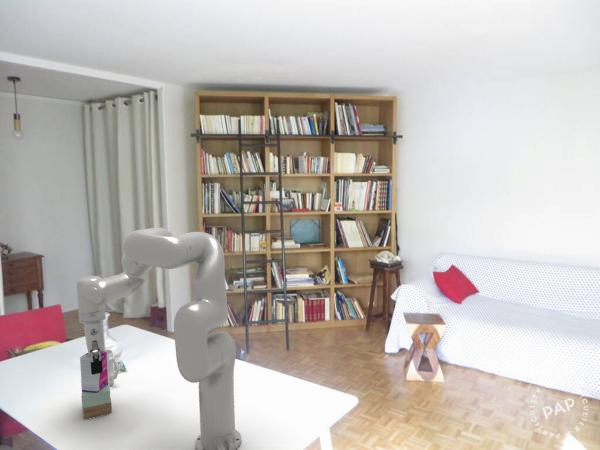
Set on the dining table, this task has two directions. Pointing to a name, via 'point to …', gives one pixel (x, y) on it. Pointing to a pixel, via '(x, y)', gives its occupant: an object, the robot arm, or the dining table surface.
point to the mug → (111, 366)
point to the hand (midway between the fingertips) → (96, 367)
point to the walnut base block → (97, 410)
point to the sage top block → (96, 397)
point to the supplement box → (93, 381)
